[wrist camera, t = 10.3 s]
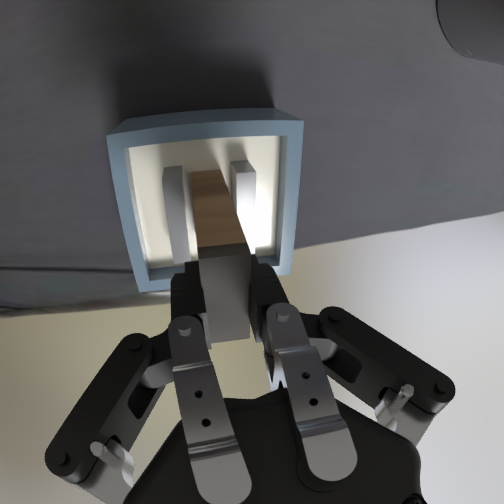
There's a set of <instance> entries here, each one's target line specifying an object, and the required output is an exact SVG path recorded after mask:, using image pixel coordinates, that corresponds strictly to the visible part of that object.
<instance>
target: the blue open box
mask: <svg viewBox="0 0 504 504" xmlns="http://www.w3.org/2000/svg"><path fill="white" fill-rule="evenodd" d="M303 125H304V121H303V120H301V119H299V118H297V117H295V116H292V115H290V114H288V113H286V112H283V111H281V110H279V109H276V108H232V109H212V110H197V111H185V112H175V113H166V114H158V115H150V116H143V117H136V118H130V119H125V120H124V121H123V122H122V123H120V124H119V125H118V126H117V127H116V128H114V129H113V130H112V131H111V132H110V133H108V134H107V135H106V138H107V145H108V152H109V159H110V165H111V171H112V177H113V183H114V188H115V194H116V199H117V204H118V209H119V213H120V218H121V223H122V227H123V232H124V236H125V240H126V244H127V248H128V252H129V256H130V260H131V264H132V267H133V271H134V275H135V278H136V282H137V285H138V289H139V292H147V291H156V290H165V289H171V286H170V281H171V279H172V277H173V276H174V274H175V273H184V272H185V264H184V262H187V261H196V260H198V252H197V241H196V230H195V219H194V206H193V193H192V178H191V172H196V171H208V170H220V169H221V171H222V174H223V176H224V179H225V182H226V185H227V188H228V190H229V193H230V196H231V199H232V201H233V204H234V207H235V210H236V213H237V215H238V218H239V221H240V224H241V227H242V229H243V232H244V235H245V238H246V240H247V243H248V246H249V249H250V252H251V254H255V255H256V257H257V259H258V262H259V264H261V263H268V264H269V265H270V266H271V267H273V268H274V270H275V272H276V274H277V276H280V275H288V274H291V268H292V258H293V249H294V239H295V229H296V218H297V207H298V195H299V183H300V170H301V156H302V141H303Z"/></svg>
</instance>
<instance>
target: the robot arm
mask: <svg viewBox="0 0 504 504" xmlns="http://www.w3.org/2000/svg"><path fill="white" fill-rule="evenodd" d="M438 15H439V20H440V24H441V27H442V29H443V32H444V34H445V36H446V38H447V39H448V41H449V43H450V44H451V45H452V47H453V48H454V49H455V50H456V51H457V52H458V53H459V54H461V55H462V56H465V57H468V58H473V59H477V60H482V61H488V62H493V63H497V64H501V65H504V0H438ZM184 264H185V272H184V273H175V274H174V276H173V277H172V279H171V281H170V286H171V322H170V324H169V326H168V328H167V329H166V331H164V332H163V333H161V334H159V335H157V336H154V337H152V338H148V336H146V335H144V334H141V333H134V334H130V335H127V336H126V337H124V338H123V339H122V340H121V342H120V343H119V344H118V346H117V347H116V348H115V350H114V351H113V352H112V354H111V355H110V357H109V358H108V359H107V361H106V362H105V363H104V365H103V366H102V368H101V369H100V370H99V372H98V373H97V375H96V376H95V378H94V379H93V380H92V382H91V383H90V385H89V386H88V388H87V389H86V390H85V392H84V393H83V395H82V396H81V398H80V399H79V401H78V402H77V404H76V405H75V406H74V408H73V409H72V411H71V412H70V414H69V415H68V417H67V418H66V420H65V421H64V423H63V425H62V426H61V428H60V429H59V430H58V432H57V434H56V435H55V437H54V438H53V440H52V441H51V443H50V444H49V446H48V448H47V449H46V452H45V463H46V465H47V467H48V469H49V470H50V471H51V472H52V473H53V474H55V475H57V476H59V477H60V478H62V479H63V480H64V481H66V482H68V483H70V484H72V485H74V486H76V487H78V488H80V489H82V490H86V491H87V492H89V493H90V494H92V495H93V496H95V497H96V498H98V499H100V500H101V501H103V502H105V503H106V504H427V503H426V501H425V500H424V498H423V496H422V493H421V488H420V469H421V460H420V456H419V453H418V451H417V449H416V445H417V444H418V442H419V441H420V439H421V438H422V436H423V434H424V433H425V431H426V430H427V428H428V426H429V425H430V423H431V421H432V420H433V418H434V417H435V416H436V415H437V414H438V413H439V412H440V411H441V410H442V409H443V408H444V407H445V406H446V405H447V404H448V403H449V402H450V401H451V400H452V399H453V397H454V396H455V385H454V383H453V381H452V380H451V379H450V378H449V377H448V376H446V375H445V374H443V373H442V372H440V371H438V370H437V369H435V368H434V367H432V366H431V365H429V364H428V363H426V362H424V361H423V360H421V359H420V358H418V357H417V356H415V355H414V354H412V353H411V352H409V351H407V350H406V349H404V348H403V347H401V346H399V345H398V344H397V343H395V342H393V341H392V340H390V339H389V338H387V337H386V336H384V335H383V334H381V333H380V332H378V331H376V330H375V329H373V328H372V327H370V326H368V325H367V324H366V323H364V322H362V321H361V320H359V319H358V318H356V317H355V316H353V315H351V314H350V313H349V312H347V311H345V310H344V309H342V308H339V307H334V306H331V307H327V308H324V309H323V310H322V311H321V312H320V314H319V315H314V314H305V313H301V312H299V311H298V309H297V308H296V307H295V306H293V305H291V304H290V303H289V301H288V299H287V296H286V294H285V292H284V290H283V288H282V286H281V283H280V281H279V279H278V277H277V274H276V272H275V270H274V268H273V267H271V266H270V265H269V264H268V263H261V264H259V262H258V259H257V257H256V255H255V254H251V282H250V297H249V320H250V324H251V327H252V330H253V334H254V337H255V340H256V343H257V342H263V345H264V358H265V362H266V367H267V372H268V377H269V382H270V388H271V392H270V393H267V394H265V395H263V396H261V397H258V398H256V399H236V398H223V396H222V393H221V390H220V387H219V383H218V380H217V376H216V373H215V369H214V366H213V363H212V361H211V359H210V355H209V352H208V349H211V342H210V334H209V327H208V320H207V312H206V305H205V299H204V292H203V288H202V287H201V279H200V270H199V261H198V260H196V261H187V262H184ZM327 375H328V376H329V377H331V378H332V379H333V380H335V381H336V382H337V383H339V384H340V385H341V386H343V387H344V388H346V389H347V390H348V391H350V392H351V393H352V394H354V395H355V396H356V397H358V398H359V399H361V400H362V401H363V402H365V403H366V404H368V405H369V406H371V407H372V408H373V409H375V416H376V418H377V422H378V423H377V422H375V421H373V420H372V419H370V418H368V417H366V416H364V415H363V414H361V413H359V412H357V411H356V410H354V409H352V408H350V407H349V406H347V405H345V404H343V403H342V402H340V401H339V400H337V399H335V398H334V395H333V392H332V389H331V386H330V383H329V380H328V377H327ZM173 381H174V383H175V388H176V394H177V398H178V404H179V409H180V414H181V418H182V419H181V420H180V421H179V422H178V423H177V425H176V426H175V427H174V429H173V430H172V432H171V433H170V435H169V436H168V437H167V439H166V440H165V442H164V443H163V445H162V446H161V448H160V449H159V450H158V452H157V453H156V455H155V456H154V458H153V459H152V461H151V462H150V463H149V465H148V466H147V468H146V469H145V470H144V472H143V473H142V475H141V476H140V477H139V479H138V480H137V482H136V483H135V484H133V481H132V473H133V470H134V465H135V464H134V460H133V457H132V456H131V455H130V453H128V452H129V451H130V449H131V447H132V445H133V443H134V442H135V440H136V438H137V436H138V434H139V433H140V431H141V429H142V427H143V425H144V424H145V422H146V420H147V418H148V417H149V415H150V413H151V411H152V409H153V408H154V406H155V404H156V402H157V400H158V399H159V397H160V395H161V393H162V392H163V390H164V388H165V385H166V384H168V383H170V382H173Z"/></svg>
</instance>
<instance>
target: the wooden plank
mask: <svg viewBox="0 0 504 504" xmlns="http://www.w3.org/2000/svg"><path fill="white" fill-rule="evenodd" d="M191 178H192V193H193V206H194V219H195V230H196V241H197V252H198V261H199V270H200V279H201V287H202V288H203V292H204V299H205V305H206V312H207V320H208V327H209V334H210V342H211V343H217V342H225V341H232V340H240V339H247V338H250V320H249V297H250V282H251V252H250V249H249V246H248V243H247V240H246V238H245V235H244V232H243V229H242V227H241V224H240V221H239V218H238V215H237V213H236V210H235V207H234V204H233V201H232V199H231V196H230V193H229V190H228V188H227V185H226V182H225V179H224V176H223V174H222V171H221V169H220V170H208V171H196V172H191Z"/></svg>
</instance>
